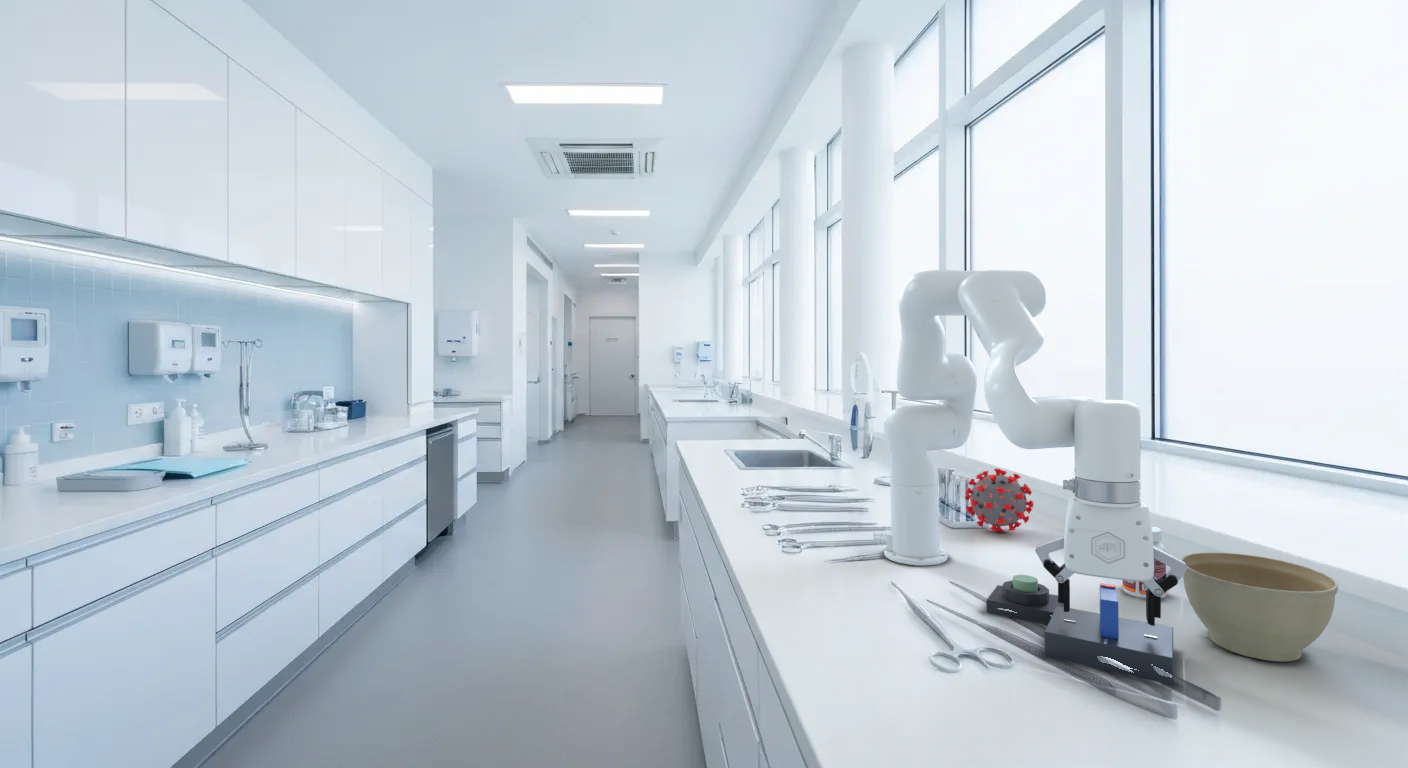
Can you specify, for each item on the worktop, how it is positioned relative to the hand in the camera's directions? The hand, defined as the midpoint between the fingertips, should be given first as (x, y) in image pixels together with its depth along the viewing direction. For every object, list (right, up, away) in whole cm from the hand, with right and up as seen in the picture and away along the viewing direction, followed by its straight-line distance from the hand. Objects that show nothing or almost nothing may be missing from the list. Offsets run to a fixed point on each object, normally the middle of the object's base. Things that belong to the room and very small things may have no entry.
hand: (1107, 615), depth 85 cm
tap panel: (0, -5, 0) cm, 5 cm away
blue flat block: (0, -2, 0) cm, 2 cm away
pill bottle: (+20, -4, +21) cm, 30 cm away
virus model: (+14, -4, +62) cm, 64 cm away
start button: (-3, -1, +15) cm, 15 cm away
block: (-3, -5, +15) cm, 16 cm away
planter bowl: (+21, -5, +1) cm, 21 cm away
